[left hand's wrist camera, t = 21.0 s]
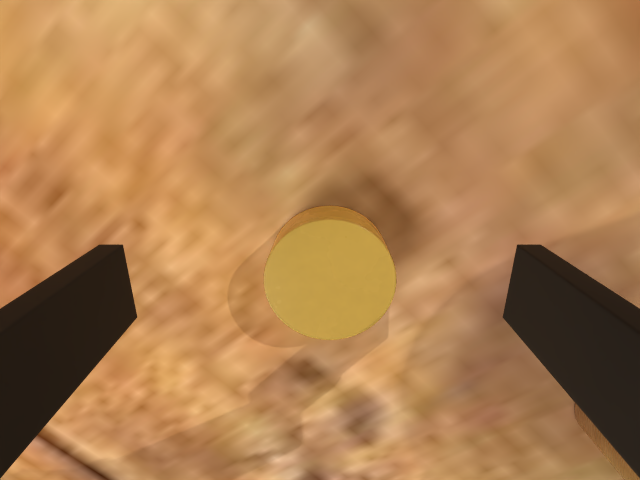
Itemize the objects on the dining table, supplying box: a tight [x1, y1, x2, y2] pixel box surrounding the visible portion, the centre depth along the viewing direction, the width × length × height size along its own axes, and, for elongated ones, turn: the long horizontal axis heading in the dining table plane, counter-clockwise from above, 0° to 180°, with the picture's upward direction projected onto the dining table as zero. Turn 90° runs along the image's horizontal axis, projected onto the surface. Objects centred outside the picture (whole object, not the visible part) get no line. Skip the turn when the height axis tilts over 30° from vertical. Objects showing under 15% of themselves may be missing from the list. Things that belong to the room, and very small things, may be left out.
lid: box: [264, 206, 396, 340], centre depth 16 cm, size 5×5×2 cm
